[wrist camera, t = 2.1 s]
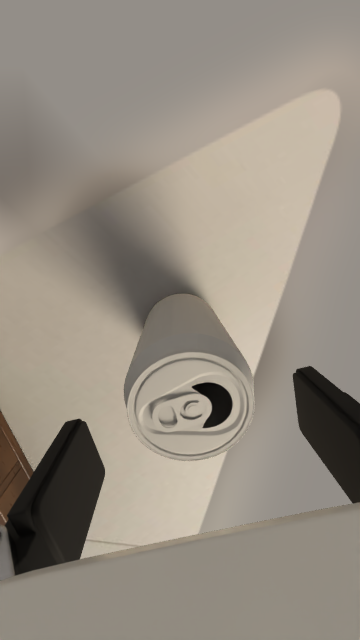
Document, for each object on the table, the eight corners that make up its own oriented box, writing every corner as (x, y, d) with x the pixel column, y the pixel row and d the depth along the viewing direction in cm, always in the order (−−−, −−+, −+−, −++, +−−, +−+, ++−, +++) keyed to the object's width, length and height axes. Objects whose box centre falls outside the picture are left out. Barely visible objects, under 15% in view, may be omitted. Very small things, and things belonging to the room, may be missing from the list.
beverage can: (222, 349, 23) (274, 452, 11) (156, 365, 23) (141, 482, 12) (208, 283, 21) (252, 327, 10) (137, 302, 21) (96, 365, 10)
